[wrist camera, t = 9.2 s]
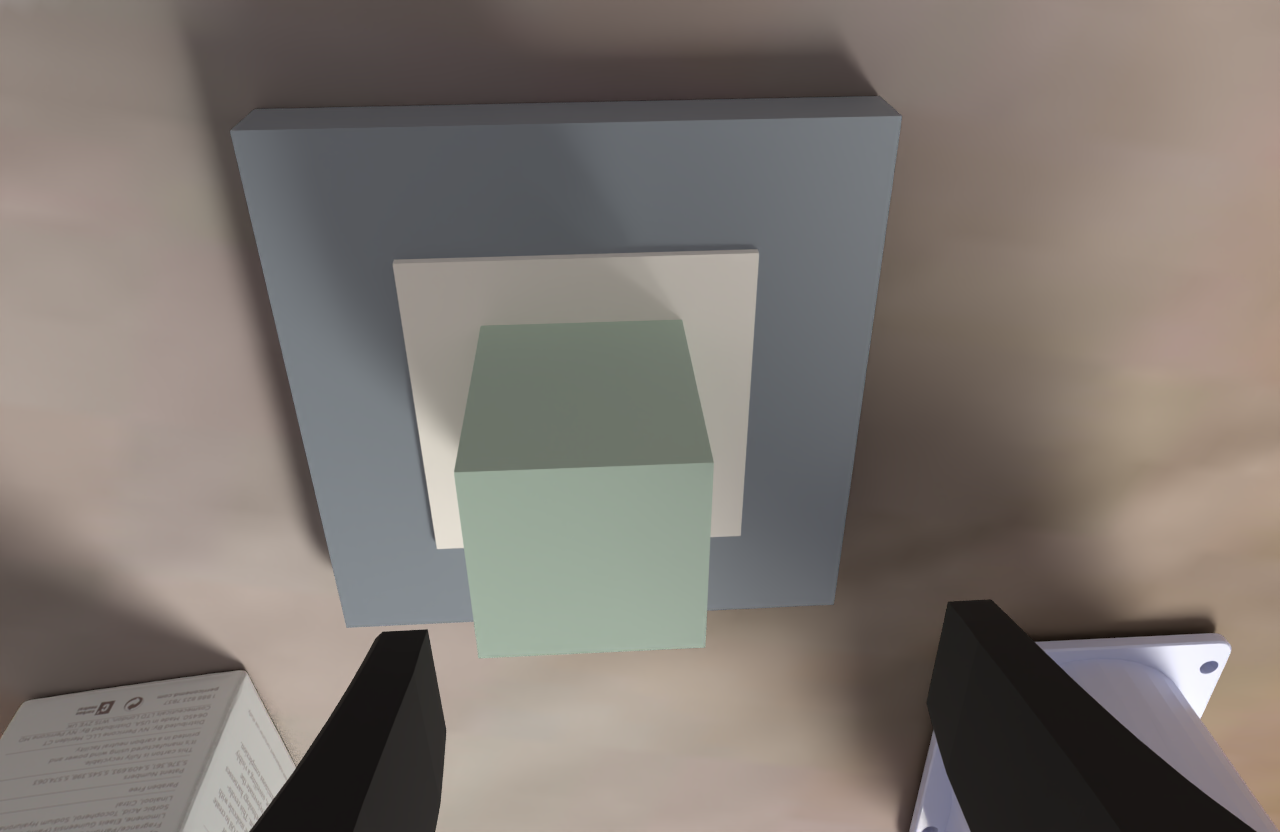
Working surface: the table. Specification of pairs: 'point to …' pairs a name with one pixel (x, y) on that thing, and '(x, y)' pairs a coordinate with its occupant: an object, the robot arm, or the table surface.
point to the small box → (143, 759)
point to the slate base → (572, 306)
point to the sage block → (585, 490)
